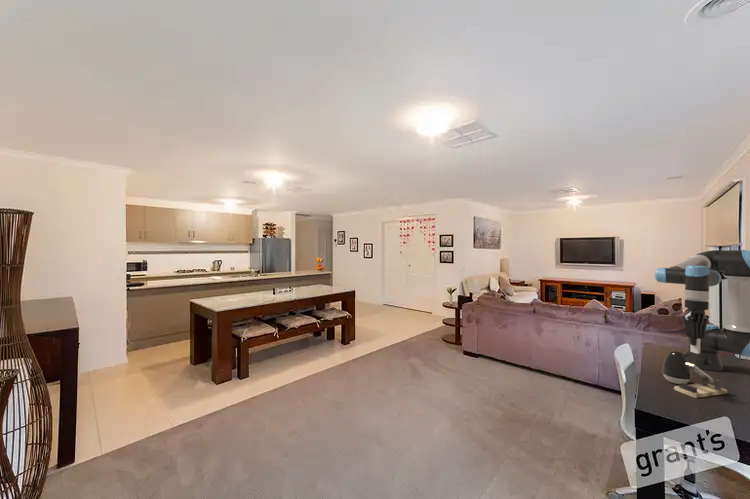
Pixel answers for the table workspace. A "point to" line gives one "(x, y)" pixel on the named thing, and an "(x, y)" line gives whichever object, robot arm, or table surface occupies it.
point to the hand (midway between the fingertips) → (695, 352)
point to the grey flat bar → (700, 372)
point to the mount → (701, 389)
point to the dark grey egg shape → (676, 368)
